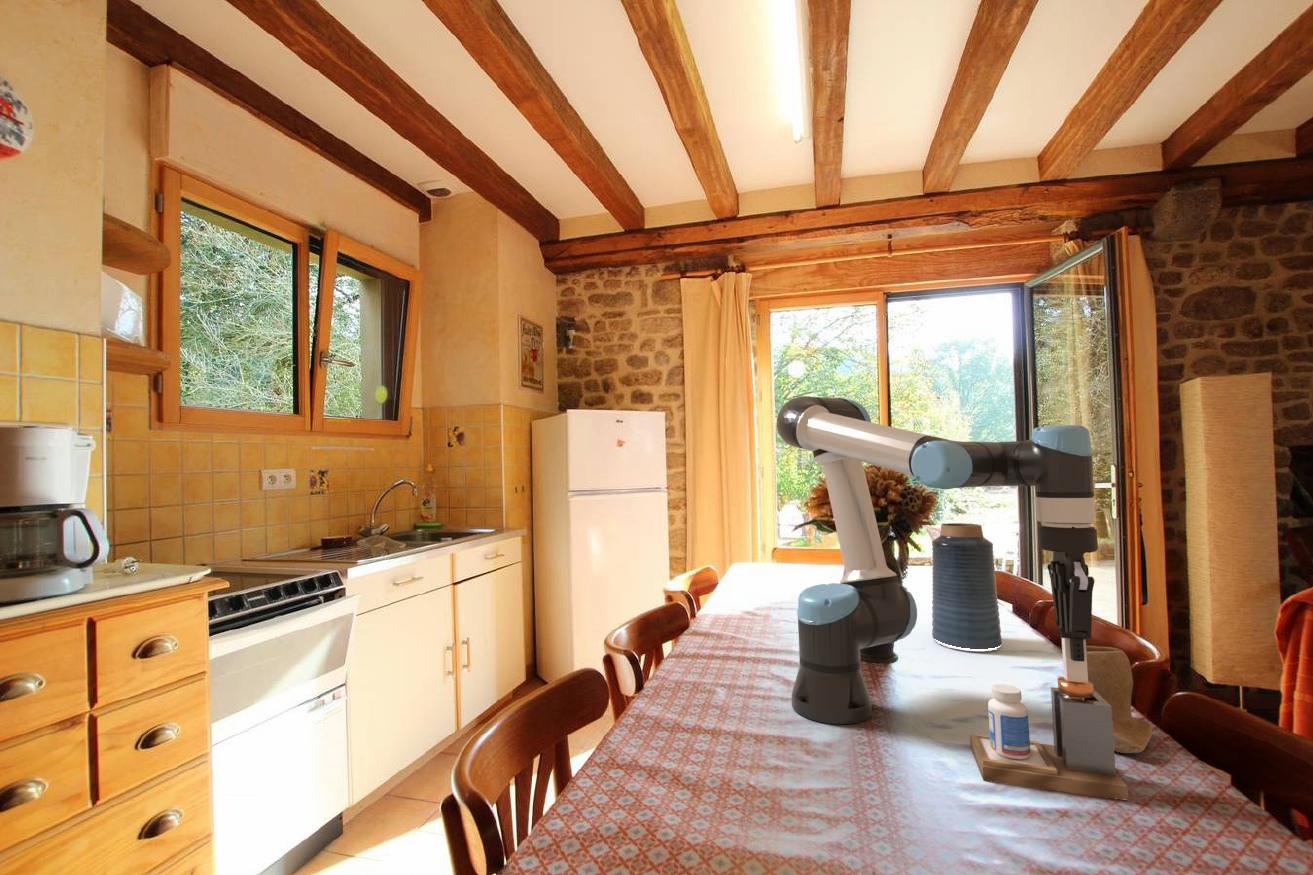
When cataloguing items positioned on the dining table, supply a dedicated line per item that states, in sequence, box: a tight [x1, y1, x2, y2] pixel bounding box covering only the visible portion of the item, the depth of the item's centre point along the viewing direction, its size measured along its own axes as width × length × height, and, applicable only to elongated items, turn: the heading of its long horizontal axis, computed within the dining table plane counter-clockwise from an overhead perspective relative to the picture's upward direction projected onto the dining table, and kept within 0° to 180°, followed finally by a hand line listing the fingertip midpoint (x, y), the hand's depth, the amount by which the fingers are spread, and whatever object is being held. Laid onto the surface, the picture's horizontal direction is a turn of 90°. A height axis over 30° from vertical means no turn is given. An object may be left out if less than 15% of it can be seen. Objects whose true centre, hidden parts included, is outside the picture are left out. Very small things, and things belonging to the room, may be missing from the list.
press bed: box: [969, 732, 1129, 801], centre depth 89 cm, size 18×11×3 cm, turn 70°
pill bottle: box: [987, 683, 1031, 759], centre depth 91 cm, size 6×5×10 cm
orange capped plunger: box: [1057, 676, 1094, 700], centre depth 88 cm, size 4×4×12 cm
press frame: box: [1050, 686, 1117, 777], centre depth 88 cm, size 6×6×10 cm
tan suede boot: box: [1086, 645, 1154, 754], centre depth 101 cm, size 15×12×15 cm
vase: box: [931, 522, 1003, 649], centre depth 155 cm, size 16×16×32 cm
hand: (1075, 680), depth 88 cm, fingers closed
